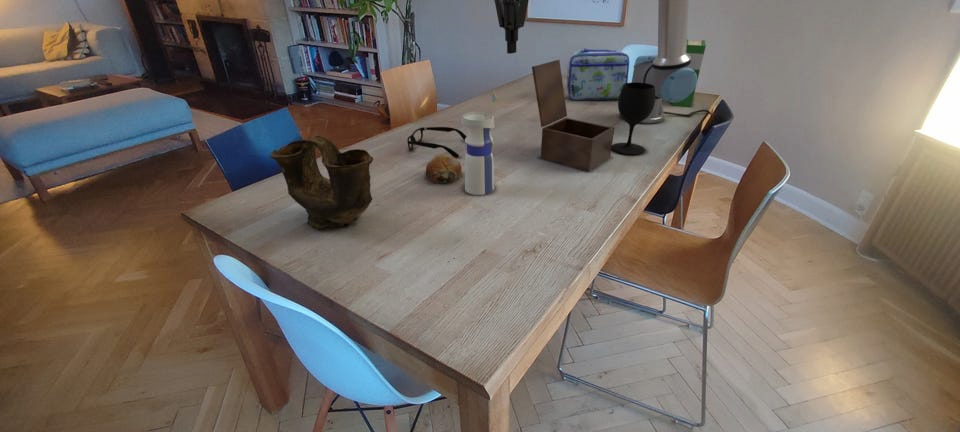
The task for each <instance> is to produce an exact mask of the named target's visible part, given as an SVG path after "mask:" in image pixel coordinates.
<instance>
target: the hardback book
mask: <svg viewBox="0 0 960 432" xmlns="http://www.w3.org/2000/svg"><path fill="white" fill-rule="evenodd" d="M706 46H707V45H706V40H705V39H702V40H701V41H689V39H688V38H687V46H686V53H687V54H688V55H689V56H691V68H690V69H693V70H694V72H695V73H696V75H697V81H698V80H699V76H700V71H701V68H702V63H703V61H704V60H703V59H704V54H705V52H706V51H705V50H706ZM697 84H698V82H697V83H696V86H695V88H694V90H693V92H692V93H690V94H689V96H688V97H687V98H685V99H684V100H682V101H679V102H671V105H672V106H676V107H677V106H678V107H688V108H691V107H692V104H693V100H694V96H695V92H696V88H697Z"/></svg>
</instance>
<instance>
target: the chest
mask: <svg viewBox="0 0 960 432" xmlns="http://www.w3.org/2000/svg"><path fill="white" fill-rule="evenodd" d="M541 128H542V130H541V144H540V159H541V160H546V161H548V162H553V163H556V164H560V165H563V166H567V167H570V168H574V169H578V170H581V171H585V172H590V171H592V170H594V169H595V168H597V167H598V166H599V165H601V164H603V163H604V162H606V161H607V160H609V159H610V158H611V155H612V149H611V148H612V145H613V141H614V134H615V127H613V126H607V125H603V124H599V123H593V122H589V121H584V120H578V119H574V118H570V117H564V118H562V119H560V120H557V121H555V122H553V123H551V124H549V125H546V126H544V127H541Z"/></svg>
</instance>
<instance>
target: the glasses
mask: <svg viewBox="0 0 960 432" xmlns="http://www.w3.org/2000/svg"><path fill="white" fill-rule="evenodd" d="M418 131H420V139H419V140H418V141H417V140H416V137H415V134H416V133H417V132H418ZM424 131H436V132H446V133H451V132H456V133H457V134H458V135H459V136H460V137H461V138H462V139H463V141H464V142H465V138H466V137H467V134H465V133H464V132H463V131H461V130H460V129H458V128H454V127H449V126H428V127H426V126H425V127H424V126H422V127H419V128H417V129H415V130H414V131H413V132H412V133H411V134H410V135H408V137H407V140H406V142H407V146H408V147H407V148H408V149H409V151H410V152H411V151H413V148H414V145H415V146H420V147H425V148H428V149H429V148H430V149H433V150H434V149H439V148H440V149H444V150H445V151H446V152H447V153H448V154H449V155H450V156H452V157H454V158H455V159H457V158H459V157H460V154H459V153H457V152H456V151H455V150H454V149H452V148H450V147H449V146H446V145H442V144H438V143H434V142H426V141H422V140H423V137H424Z"/></svg>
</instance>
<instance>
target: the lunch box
mask: <svg viewBox="0 0 960 432" xmlns="http://www.w3.org/2000/svg"><path fill="white" fill-rule="evenodd" d="M566 70H567V71H566V92H567V94H568V96H569V98H570V99H571V100H573V101H587V100H588V101H608V100H611V101H612V100H619V96H620V93H621V90H622V88H623V86H624V84H626V83H629V82H628V81H629V72H630V57H629V55H628V54H627V53H625V52H623V51H621V50H617V49H588V48H583V50H576V51H574V52H572V53H571V54H570V55H569V57H568V63H567V69H566Z"/></svg>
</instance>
